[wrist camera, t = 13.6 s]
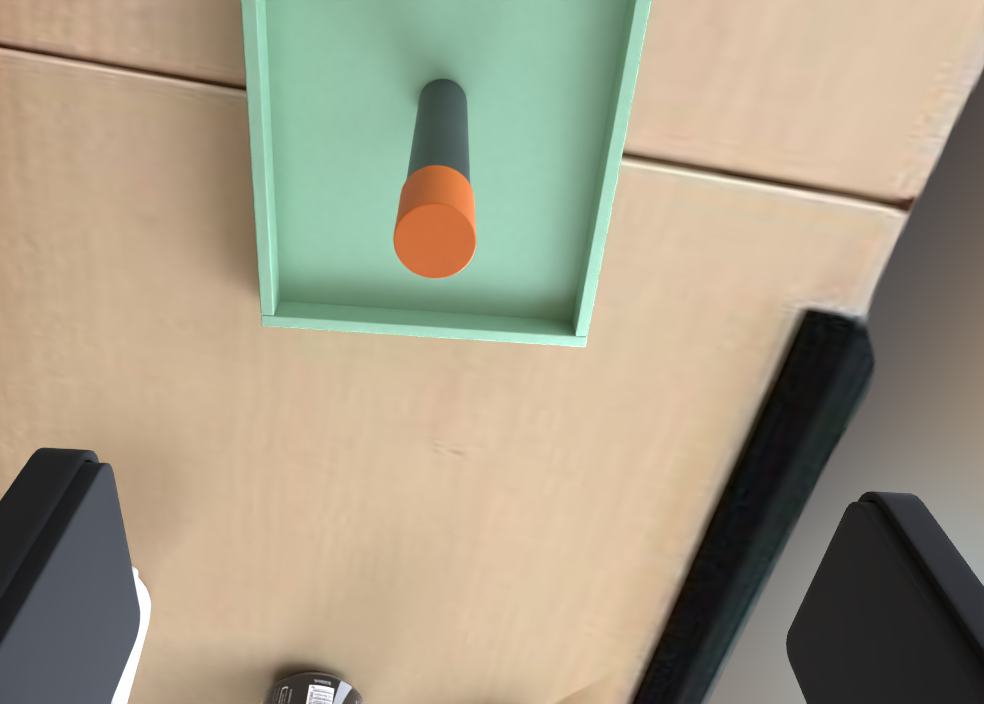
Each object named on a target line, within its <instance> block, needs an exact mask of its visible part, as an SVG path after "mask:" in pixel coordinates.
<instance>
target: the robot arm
mask: <svg viewBox="0 0 984 704" xmlns="http://www.w3.org/2000/svg"><path fill="white" fill-rule="evenodd" d="M140 615H141V613H140V606H139V601H138V595H137V590H136V585H135V580H134V575H133V570H132V565H131V560H130V555H129V550H128V545H127V539H126V534H125V529H124V524H123V519H122V514H121V509H120V504H119V499H118V494H117V489H116V483H115V478H114V473H113V470H112V467H111V466H110V464H108V463H99V461H98V458H97V455H96V454H95V453H94V451H91V450H77V449H58V448H40V449H38V450H37V451H36V452H35V453H34V454H33V455H32V456H31V457H30V459H29V460H28V462H27V463H26V465H25V466H24V467H23V469H22V470H21V472H20V473H19V475H18V476H17V478H16V479H15V480H14V482H13V483H12V485H11V486H10V488H9V489H8V491H7V492H6V493H5V495H4V496H3V498H2V499H1V501H0V704H111V702H112V699H113V697H114V694H115V692H116V689H117V687H118V684H119V682H120V679H121V677H122V674H123V672H124V669H125V667H126V664H127V662H128V659H129V657H130V654H131V652H132V649H133V647H134V644H135V642H136V639H137V636H138V632H139V627H140ZM786 646H787V654H788V658H789V661H790V664H791V666H792V669H793V671H794V674H795V676H796V678H797V681H798V683H799V686H800V688H801V690H802V693H803V695H804V697H805V700H806V702H807V704H984V586H983V585H982V583H981V582H980V581H979V579H978V578H977V577H976V575H975V574H974V573H973V571H972V570H971V568H970V567H969V565H968V564H967V563H966V561H965V560H964V559H963V557H962V556H961V555H960V553H959V552H958V550H957V549H956V547H955V546H954V545H953V543H952V542H951V541H950V539H949V538H948V536H947V535H946V534H945V532H944V531H943V530H942V528H941V527H940V525H939V524H938V523H937V521H936V520H935V519H934V517H933V516H932V514H931V513H930V512H929V510H928V509H927V508H926V506H925V505H924V503H923V502H922V501H921V500H920V499H919V498H918V497H917V496H915V495H913V494H909V493H891V492H890V493H889V492H866V493H865V494H863V495H862V496H861V497H860V499H859V500H858V502H852V503H851V504H849V506H848V507H847V508H846V511H845V512H844V515H843V517H842V519H841V521H840V523H839V525H838V527H837V529H836V531H835V534H834V536H833V538H832V540H831V542H830V544H829V546H828V549H827V551H826V553H825V555H824V557H823V559H822V561H821V564H820V566H819V568H818V570H817V572H816V574H815V576H814V578H813V581H812V582H811V585H810V587H809V589H808V591H807V593H806V595H805V598H804V600H803V602H802V604H801V606H800V608H799V610H798V612H797V614H796V617H795V619H794V621H793V623H792V625H791V627H790V629H789V631H788V635H787V642H786Z"/></svg>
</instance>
